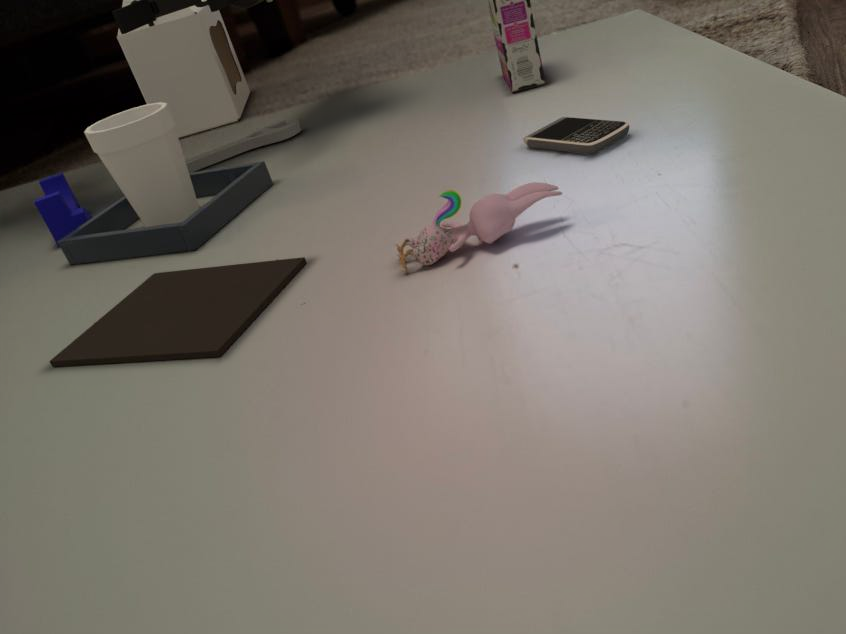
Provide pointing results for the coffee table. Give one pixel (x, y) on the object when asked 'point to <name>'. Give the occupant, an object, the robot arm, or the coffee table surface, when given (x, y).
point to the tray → (112, 242)
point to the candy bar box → (516, 43)
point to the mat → (182, 314)
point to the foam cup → (146, 162)
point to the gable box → (188, 68)
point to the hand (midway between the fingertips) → (162, 11)
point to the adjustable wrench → (245, 144)
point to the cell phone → (577, 135)
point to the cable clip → (60, 207)
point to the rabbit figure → (473, 221)
